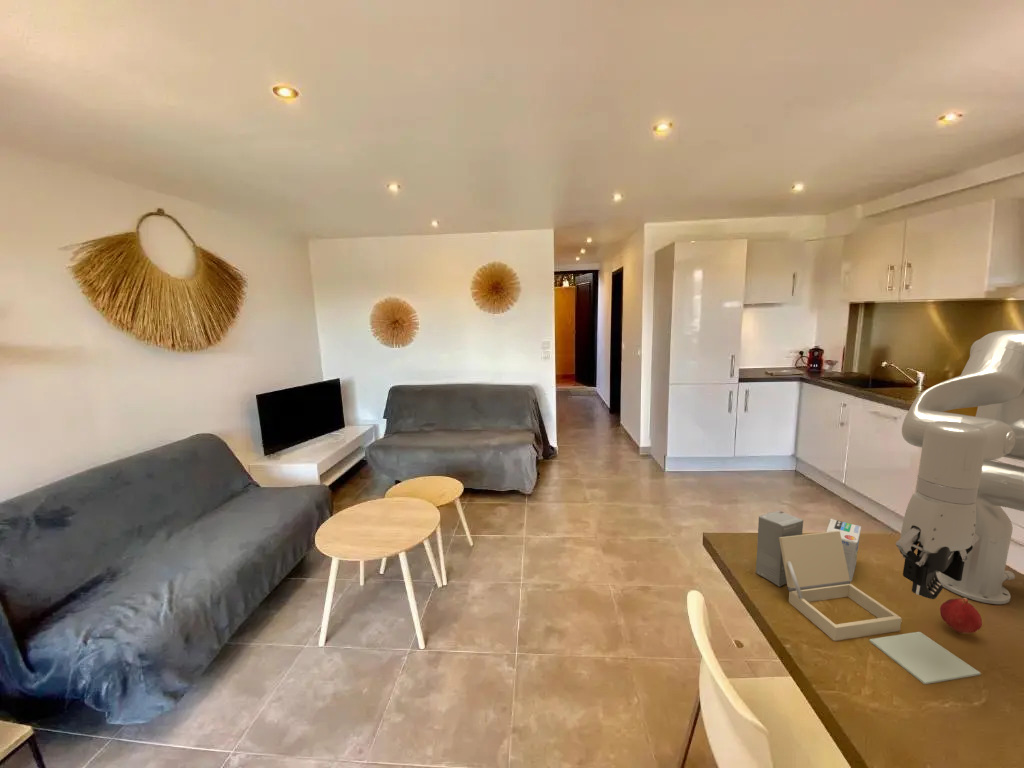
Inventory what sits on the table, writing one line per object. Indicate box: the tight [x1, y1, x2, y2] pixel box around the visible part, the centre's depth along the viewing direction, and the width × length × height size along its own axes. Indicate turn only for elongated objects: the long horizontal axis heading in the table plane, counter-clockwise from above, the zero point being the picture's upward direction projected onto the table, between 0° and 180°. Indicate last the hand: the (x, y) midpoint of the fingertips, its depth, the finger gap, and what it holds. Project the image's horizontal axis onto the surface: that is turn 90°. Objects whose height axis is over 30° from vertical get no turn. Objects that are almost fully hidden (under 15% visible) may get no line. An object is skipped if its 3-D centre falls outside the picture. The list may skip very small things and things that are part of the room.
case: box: [779, 531, 903, 642], centre depth 91 cm, size 16×16×14 cm
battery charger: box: [911, 542, 954, 600], centre depth 76 cm, size 7×4×11 cm, turn 123°
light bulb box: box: [825, 518, 862, 582], centre depth 105 cm, size 11×7×11 cm, turn 136°
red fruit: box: [939, 597, 983, 634], centre depth 84 cm, size 6×6×8 cm
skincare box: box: [755, 510, 804, 587], centre depth 103 cm, size 8×7×16 cm
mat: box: [868, 631, 982, 685], centre depth 79 cm, size 12×10×1 cm
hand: (931, 578), depth 76 cm, fingers closed on battery charger, 7 cm apart
